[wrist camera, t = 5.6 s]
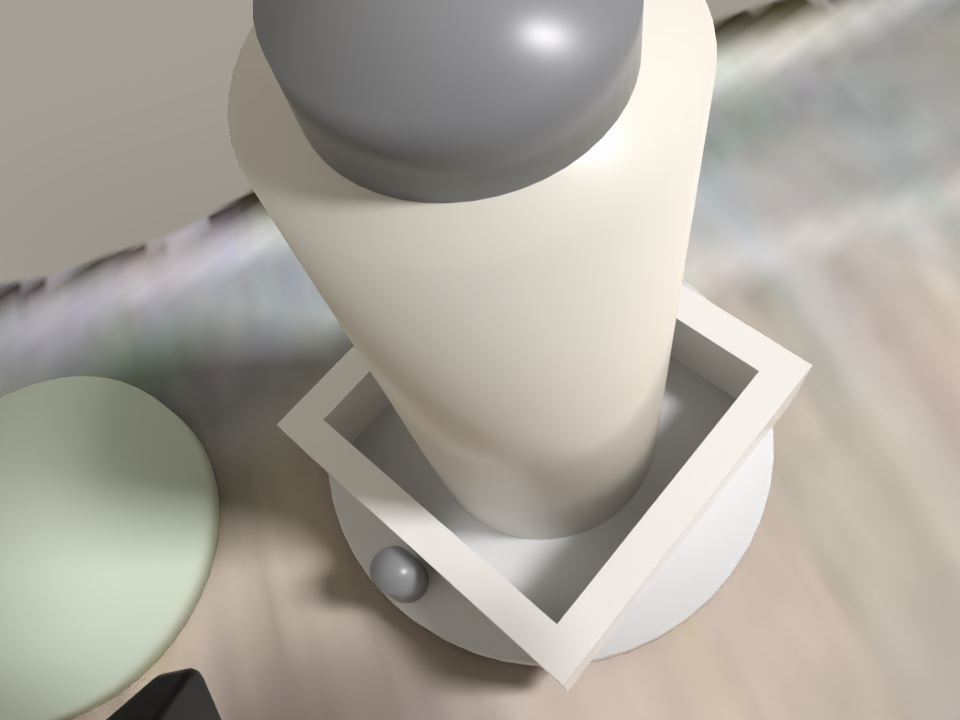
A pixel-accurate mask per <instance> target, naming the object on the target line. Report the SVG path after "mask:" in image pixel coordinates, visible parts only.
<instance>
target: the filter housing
mask: <svg viewBox="0 0 960 720" xmlns="http://www.w3.org/2000/svg"><path fill="white" fill-rule="evenodd" d="M811 367H812V365H811V364H809V363H808V362H806V361H805V360H803V359H801V358H800V357H798V356H796V355H795V354H793V353H792V352H790V351H788V350H787V349H785V348H784V347H782V346H780V345H779V344H777V343H775V342H774V341H772V340H771V339H769V338H767V337H766V336H764V335H762V334H761V333H759V332H758V331H756V330H754V329H753V328H751V327H750V326H748V325H746V324H745V323H743V322H741V321H740V320H738V319H737V318H735V317H733V316H732V315H730V314H729V313H727V312H725V311H724V310H722V309H720V308H719V307H717V306H716V305H714V304H712V303H711V302H709V301H708V300H707V299H706V298H705V297H704V296H703V295H702V294H701V293H700V292H698V291H697V290H696V289H695V288H693V287H692V286H691V285H689V284H688V283H686V282H685V281H683V280H682V286H681V292H680V298H679V304H678V310H677V317H676V323H675V329H674V335H673V341H672V348H671V354H670V360H669V366H668V373H667V379H666V385H665V391H664V397H663V404H662V410H661V416H660V422H659V428H658V435H657V441H656V446H655V452H654V457H653V460H652V463H651V466H650V469H649V471H648V473H647V475H646V477H645V479H644V481H643V483H642V485H641V486H640V488H639V489H638V491H637V492H636V494H635V495H634V496H633V498H632V499H631V500H630V501H629V502H628V503H627V504H626V505H625V506H624V507H623V508H622V509H621V510H620V511H619V512H617V513H616V514H615V515H614V516H612V517H611V518H610V519H608V520H606V521H605V522H603V523H602V524H600V525H598V526H596V527H594V528H592V529H590V530H587V531H585V532H583V533H579V534H576V535H573V536H569V537H564V538H558V539H544V540H535V539H526V538H519V537H515V536H511V535H507V534H504V533H501V532H499V531H496V530H494V529H491V528H490V527H488V526H486V525H484V524H482V523H480V522H479V521H477V520H476V519H475V518H473V517H472V516H471V515H469V514H468V513H467V512H466V511H465V510H464V509H463V508H462V507H461V506H460V505H459V504H458V503H457V502H456V501H455V500H454V499H453V497H452V496H451V495H450V493H449V492H448V491H447V489H446V488H445V486H444V484H443V483H442V481H441V480H440V478H439V477H438V475H437V474H436V472H435V471H434V469H433V467H432V466H431V464H430V463H429V461H428V460H427V458H426V457H425V455H424V454H423V452H422V450H421V449H420V447H419V446H418V444H417V443H416V441H415V440H414V438H413V436H412V435H411V433H410V432H409V430H408V429H407V427H406V426H405V424H404V423H403V421H402V419H401V418H400V416H399V415H398V413H397V412H396V410H395V409H394V407H393V406H392V404H391V402H390V401H389V399H388V398H387V396H386V395H385V393H384V392H383V390H382V388H381V387H380V385H379V384H378V382H377V381H376V379H375V378H374V376H373V375H372V373H371V371H370V370H369V368H368V367H367V365H366V364H365V362H364V361H363V359H362V358H361V356H360V354H359V353H358V351H357V350H356V348H355V347H354V346H353V347H352V348H351V349H350V350H349V351H348V352H347V353H346V354H345V355H344V356H343V357H342V358H341V359H340V360H339V361H338V362H337V363H336V364H335V365H334V366H333V367H332V368H331V369H330V370H329V371H328V372H327V373H326V374H325V375H324V377H323V378H322V379H321V380H320V381H319V382H318V383H317V384H316V385H315V386H314V387H313V388H312V389H311V390H310V391H309V392H308V393H307V394H306V395H305V396H304V397H303V398H302V399H301V400H300V401H299V402H298V403H297V404H296V405H295V406H294V407H293V408H292V409H291V410H290V411H289V412H288V413H287V414H286V415H285V417H284V418H283V419H282V420H281V421H280V422H279V423H278V424H277V426H278V427H279V428H280V429H281V430H282V431H283V432H284V433H286V434H287V435H288V436H289V437H290V438H291V439H292V440H293V441H294V442H295V443H296V444H297V445H298V446H299V447H300V448H301V449H302V450H303V451H305V452H306V453H307V454H308V455H309V456H310V457H311V458H312V459H313V460H314V461H315V462H317V463H318V464H319V465H320V466H321V467H322V468H323V469H324V470H325V471H326V472H328V477H329V483H330V488H331V494H332V500H333V504H334V508H335V511H336V514H337V517H338V520H339V523H340V526H341V529H342V531H343V533H344V536H345V538H346V540H347V542H348V544H349V546H350V548H351V550H352V552H353V554H354V556H355V557H356V559H357V560H358V562H359V563H360V565H361V566H362V568H363V569H364V571H365V572H366V574H367V575H368V577H369V578H370V579H371V581H372V582H373V583H374V585H375V586H376V587H377V588H378V589H380V591H381V592H382V593H383V594H384V595H385V596H386V597H387V598H388V599H389V600H390V602H392V603H393V604H394V605H395V606H397V607H398V608H399V609H400V610H401V611H403V612H404V613H405V614H406V615H407V616H409V617H410V618H411V619H412V620H413V621H415V622H416V623H418V624H420V625H421V626H423V627H425V628H426V629H428V630H429V631H431V632H433V633H434V634H436V635H438V636H439V637H441V638H442V639H444V640H446V641H447V642H449V643H452V644H454V645H456V646H459V647H461V648H463V649H465V650H468V651H470V652H472V653H475V654H478V655H481V656H485V657H488V658H492V659H495V660H499V661H503V662H507V663H515V664H522V665H530V666H541V667H542V668H543V669H544V670H545V671H546V672H547V673H548V674H549V675H551V676H552V677H553V678H554V679H555V680H556V681H557V682H558V683H559V684H560V685H562V686H563V687H564V688H565V689H566V690H567V691H568V690H569V689H570V687H571V686H572V685H573V684H574V682H575V681H576V680H577V678H578V677H579V676H580V675H581V673H582V672H583V671H584V669H585V668H586V667H587V666H588V664H589V663H592V662H598V661H602V660H605V659H609V658H612V657H615V656H619V655H622V654H626V653H629V652H631V651H633V650H635V649H638V648H640V647H642V646H644V645H646V644H649V643H651V642H653V641H655V640H657V639H659V638H660V637H662V636H663V635H665V634H667V633H668V632H670V631H671V630H673V629H674V628H676V627H678V626H679V625H681V624H682V623H684V622H685V621H686V620H687V619H688V618H689V617H691V616H692V615H693V614H694V613H695V612H696V611H698V610H699V609H700V608H701V607H702V606H703V605H704V604H706V603H707V602H708V600H709V599H710V598H711V597H712V596H713V595H714V593H715V592H716V591H717V590H718V589H719V588H720V587H721V585H722V584H723V583H724V582H725V581H726V580H727V578H728V577H729V576H730V574H731V573H732V571H733V570H734V568H735V567H736V565H737V564H738V562H739V560H740V559H741V557H742V556H743V554H744V553H745V551H746V550H747V548H748V546H749V544H750V542H751V540H752V538H753V536H754V533H755V531H756V529H757V527H758V524H759V522H760V520H761V518H762V514H763V511H764V507H765V504H766V500H767V497H768V493H769V490H770V483H771V475H772V468H773V460H774V459H773V426H774V424H775V423H776V422H777V421H778V419H779V418H780V417H781V415H782V414H783V413H784V412H785V410H786V409H787V408H788V406H789V405H790V404H791V402H792V401H793V400H794V398H795V396H796V394H797V392H798V391H799V389H800V387H801V385H802V383H803V381H804V380H805V378H806V376H807V374H808V372H809V370H810V369H811Z"/></svg>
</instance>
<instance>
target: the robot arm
mask: <svg viewBox="0 0 960 720" xmlns="http://www.w3.org/2000/svg"><path fill="white" fill-rule="evenodd" d="M106 720H221V718H220V716H219V713H218V711H217V709H216V706H215V704H214V702H213V699H212V697H211V695H210V692H209V690H208V688H207V685H206V683H205V681H204V679H203V677H202V675H201V674H200V673H199V672H198V671H197V670H195V669H192V668H189V669H184V670H179V671H174V672H169V673H165V674H161V675H159V676H157V677H155V678H154V679H153V680H152V681H151V682H149V683H148V684H147V685H146V686H145V687H144V688H142V689H141V690H140V691H139V692H138V693H137V694H135V695H134V696H133V697H132V698H131V699H130V700H128V701H127V702H126V703H125V704H124V705H123V706H122V707H120V708H119V709H118V710H117V711H116V712H115V713H113V714H112V715H111V716H110V717H109V718H108V719H106Z"/></svg>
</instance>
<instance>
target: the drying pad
mask: <svg viewBox="0 0 960 720" xmlns="http://www.w3.org/2000/svg"><path fill="white" fill-rule="evenodd" d="M219 517H220V505H219V496H218V487H217V483H216V479H215V475H214V471H213V467H212V465H211V462H210V460H209V458H208V455H207V453H206V450H205V449H204V447H203V445H202V444H201V442H200V441H199V439H198V437H197V436H196V434H195V433H194V432H193V431H192V430H191V428H190V427H189V426H188V425H187V424H186V423H185V422H184V421H183V420H182V419H181V418H180V417H178V416H177V415H176V414H175V413H174V412H172V411H171V410H170V409H169V408H167V407H166V406H165V405H163V404H162V403H161V402H159V401H158V400H157V399H155V398H154V397H153V396H151V395H149V394H147V393H146V392H144V391H142V390H141V389H139V388H137V387H134V386H132V385H129V384H127V383H124V382H121V381H117V380H113V379H108V378H103V377H91V376H76V377H63V378H58V379H52V380H47V381H43V382H40V383H36V384H33V385H30V386H26V387H24V388H21V389H19V390H17V391H14V392H12V393H10V394H7V395H5V396H3V397H2V398H0V720H68V719H72V718H75V717H77V716H79V715H81V714H84V713H86V712H88V711H90V710H93V709H95V708H97V707H99V706H100V705H102V704H104V703H105V702H107V701H109V700H110V699H112V698H114V697H115V696H117V695H119V694H120V693H121V692H122V691H124V690H125V689H126V688H128V687H129V686H130V685H132V684H133V683H134V682H135V681H137V680H138V679H139V678H140V677H141V676H142V675H143V674H144V673H145V672H147V671H148V670H149V669H150V668H151V667H152V666H153V665H154V664H155V663H156V662H157V661H158V660H159V659H160V657H161V656H162V655H163V654H164V653H165V651H166V650H167V649H168V648H169V647H170V645H171V644H172V643H173V642H174V641H175V639H176V638H177V636H178V635H179V633H180V632H181V630H182V629H183V627H184V626H185V624H186V623H187V621H188V620H189V618H190V616H191V614H192V612H193V611H194V609H195V607H196V605H197V603H198V601H199V599H200V597H201V595H202V592H203V590H204V587H205V585H206V582H207V580H208V577H209V575H210V571H211V567H212V564H213V560H214V556H215V553H216V547H217V540H218V534H219Z"/></svg>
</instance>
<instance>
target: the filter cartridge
mask: <svg viewBox="0 0 960 720" xmlns="http://www.w3.org/2000/svg"><path fill="white" fill-rule="evenodd" d="M253 20H254V26H253V27H252V29H251V31H250V33H249V35H248V37H247V39H246V41H245V43H244V45H243V47H242V49H241V51H240V54H239V57H238V60H237V62H236V65H235V68H234V71H233V75H232V81H231V86H230V91H229V104H228V105H229V106H228V108H229V109H228V122H229V127H230V134H231V142H232V145H233V148H234V151H235V154H236V157H237V160H238V163H239V166H240V167H241V169H242V171H243V173H244V175H245V176H246V178H247V180H248V182H249V184H250V186H251V187H252V189H253V190H254V192H255V193H256V195H257V197H258V198H259V200H260V201H261V203H262V204H263V206H264V207H265V209H266V211H267V212H268V214H269V215H270V217H271V218H272V220H273V221H274V223H275V224H276V226H277V228H278V229H279V231H280V232H281V234H282V235H283V237H284V238H285V240H286V241H287V243H288V245H289V246H290V248H291V249H292V251H293V252H294V254H295V255H296V257H297V258H298V260H299V262H300V263H301V265H302V266H303V268H304V269H305V271H306V272H307V274H308V276H309V277H310V279H311V280H312V282H313V283H314V285H315V286H316V288H317V289H318V291H319V293H320V294H321V296H322V297H323V299H324V300H325V302H326V303H327V305H328V306H329V308H330V310H331V311H332V313H333V314H334V316H335V317H336V319H337V320H338V322H339V323H340V325H341V327H342V328H343V330H344V331H345V333H346V334H347V336H348V337H349V339H350V341H351V342H352V344H353V345H354V347H355V348H356V350H357V351H358V353H359V354H360V356H361V358H362V359H363V361H364V362H365V364H366V365H367V367H368V368H369V370H370V371H371V373H372V375H373V376H374V378H375V379H376V381H377V382H378V384H379V385H380V387H381V388H382V390H383V392H384V393H385V395H386V396H387V398H388V399H389V401H390V402H391V404H392V406H393V407H394V409H395V410H396V412H397V413H398V415H399V416H400V418H401V419H402V421H403V423H404V424H405V426H406V427H407V429H408V430H409V432H410V433H411V435H412V436H413V438H414V440H415V441H416V443H417V444H418V446H419V447H420V449H421V450H422V452H423V454H424V455H425V457H426V458H427V460H428V461H429V463H430V464H431V466H432V467H433V469H434V471H435V472H436V474H437V475H438V477H439V478H440V480H441V481H442V483H443V484H444V486H445V488H446V489H447V491H448V492H449V493H450V495H451V496H452V497H453V499H454V500H455V501H456V502H457V503H458V504H459V505H460V506H461V507H462V508H463V509H464V510H465V511H466V512H467V513H468V514H469V515H471V516H472V517H473V518H475V519H476V520H477V521H479V522H480V523H482V524H484V525H486V526H488V527H490V528H491V529H494V530H496V531H499V532H501V533H504V534H507V535H511V536H515V537H519V538H526V539H535V540H544V539H558V538H564V537H569V536H573V535H576V534H579V533H583V532H585V531H587V530H590V529H592V528H594V527H596V526H598V525H600V524H602V523H603V522H605V521H606V520H608V519H610V518H611V517H612V516H614V515H615V514H616V513H617V512H619V511H620V510H621V509H622V508H623V507H624V506H625V505H626V504H627V503H628V502H629V501H630V500H631V499H632V498H633V496H634V495H635V494H636V492H637V491H638V489H639V488H640V486H641V485H642V483H643V481H644V479H645V477H646V475H647V473H648V471H649V469H650V466H651V463H652V460H653V457H654V452H655V446H656V441H657V435H658V428H659V422H660V416H661V410H662V404H663V397H664V391H665V385H666V379H667V373H668V366H669V360H670V354H671V348H672V341H673V335H674V329H675V323H676V317H677V310H678V304H679V298H680V292H681V286H682V279H683V273H684V267H685V261H686V255H687V248H688V242H689V236H690V230H691V224H692V217H693V211H694V205H695V199H696V193H697V186H698V180H699V174H700V168H701V161H702V155H703V149H704V143H705V137H706V130H707V124H708V118H709V112H710V106H711V99H712V93H713V87H714V81H715V75H716V57H717V43H716V37H715V31H714V25H713V19H712V17H711V14H710V11H709V8H708V6H707V3H706V0H253Z"/></svg>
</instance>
